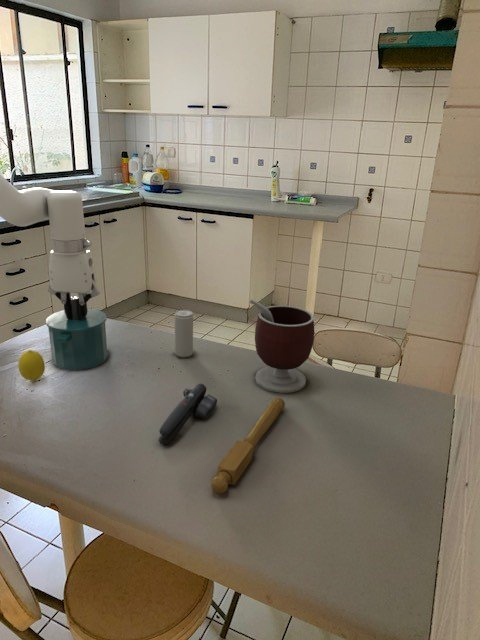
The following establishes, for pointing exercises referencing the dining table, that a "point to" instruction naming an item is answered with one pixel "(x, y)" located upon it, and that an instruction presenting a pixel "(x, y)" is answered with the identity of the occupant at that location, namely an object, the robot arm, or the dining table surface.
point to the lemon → (31, 365)
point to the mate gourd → (283, 346)
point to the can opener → (187, 411)
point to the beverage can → (183, 333)
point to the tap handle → (244, 449)
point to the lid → (76, 319)
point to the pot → (78, 348)
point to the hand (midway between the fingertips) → (76, 317)
